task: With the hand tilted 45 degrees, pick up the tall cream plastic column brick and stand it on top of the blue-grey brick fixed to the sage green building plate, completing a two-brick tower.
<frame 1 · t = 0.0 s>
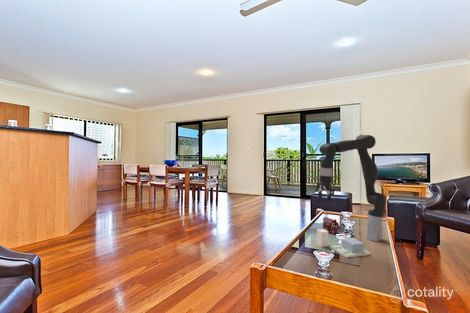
hand: (324, 199, 160), 29 cm above the table, tool pointing down, fingers open, 8 cm apart
cream column brick: (321, 245, 161), on the table
dark red irregular lump: (330, 232, 186), on the table
building plate: (349, 251, 153), on the table
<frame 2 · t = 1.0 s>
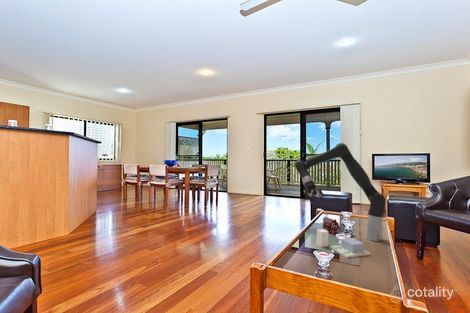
hand: (317, 202, 174), 25 cm above the table, tool tilted 45°, fingers open, 8 cm apart
nothing on the table moved.
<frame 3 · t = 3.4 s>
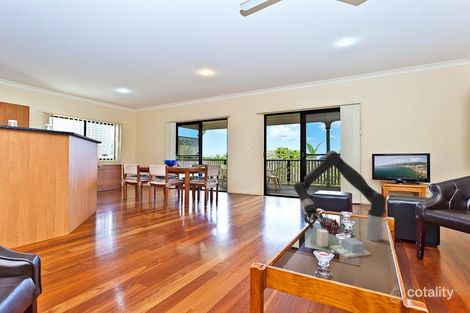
hand: (318, 228, 165), 9 cm above the table, tool tilted 45°, fingers open, 8 cm apart
nothing on the table moved.
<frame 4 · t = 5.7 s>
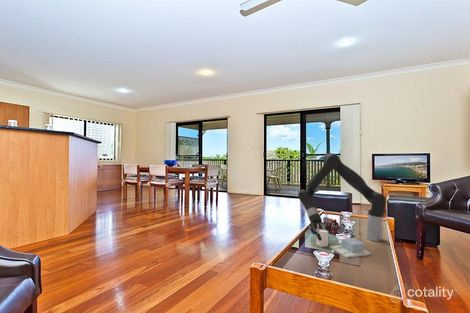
hand: (324, 239, 159), 4 cm above the table, tool tilted 45°, fingers closed on cream column brick, 5 cm apart
cream column brick: (321, 245, 161), on the table, touching gripper
everything else where it was.
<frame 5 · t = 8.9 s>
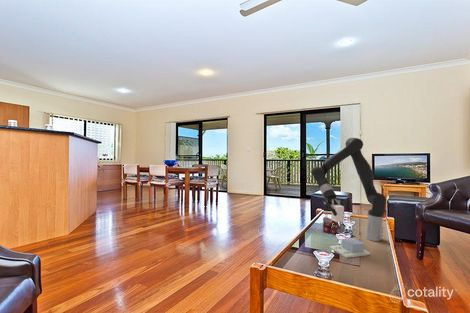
hand: (339, 214, 155), 21 cm above the table, tool tilted 45°, fingers closed on cream column brick, 5 cm apart
cream column brick: (337, 220, 157), point 17 cm above the table, touching gripper
everything else where it was.
when the fingers open (12 cm above the table, at t = 12.6 s): cream column brick drops 1 cm, resting on building plate.
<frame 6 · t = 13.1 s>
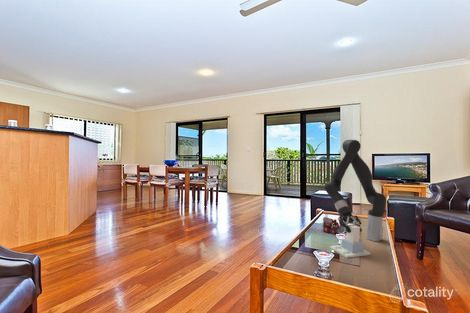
hand: (355, 232, 152), 12 cm above the table, tool tilted 45°, fingers open, 8 cm apart
cream column brick: (352, 241, 153), point 6 cm above the table, touching building plate
everything else where it was.
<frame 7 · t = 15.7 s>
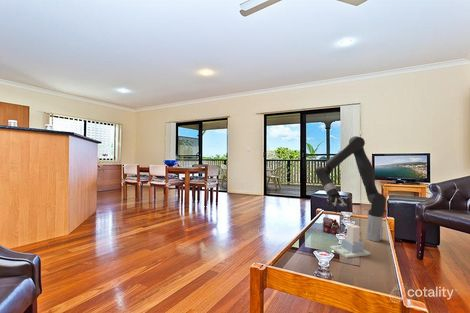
hand: (342, 211, 162), 22 cm above the table, tool tilted 45°, fingers open, 8 cm apart
nothing on the table moved.
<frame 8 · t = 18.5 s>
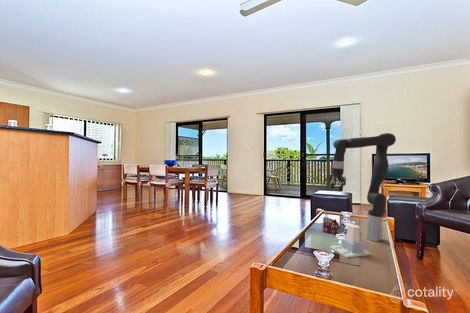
hand: (336, 190, 178), 33 cm above the table, tool pointing down, fingers open, 8 cm apart
nothing on the table moved.
at the end: cream column brick 0.2 cm from the target spot on the building plate, point 6.2 cm above the building plate's base; cream column brick tilted 0°; the gripper is holding nothing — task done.
